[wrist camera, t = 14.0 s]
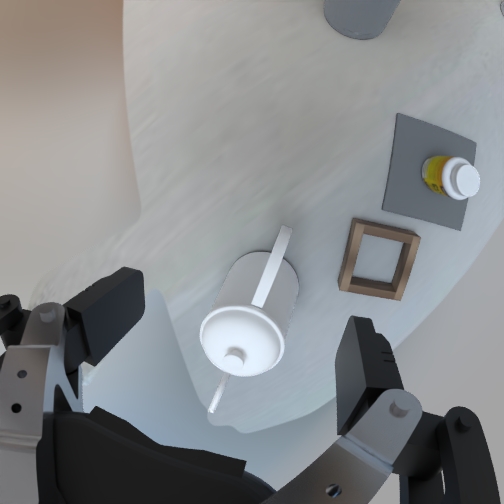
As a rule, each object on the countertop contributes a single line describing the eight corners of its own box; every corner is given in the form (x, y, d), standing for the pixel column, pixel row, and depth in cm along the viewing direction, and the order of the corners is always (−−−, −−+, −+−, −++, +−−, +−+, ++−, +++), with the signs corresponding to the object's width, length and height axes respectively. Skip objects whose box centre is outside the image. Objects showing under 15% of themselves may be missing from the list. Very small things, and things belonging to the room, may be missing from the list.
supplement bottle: (415, 183, 33) (445, 192, 24) (425, 149, 31) (457, 149, 22) (444, 197, 32) (477, 210, 24) (454, 164, 31) (489, 169, 22)
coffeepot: (210, 331, 48) (166, 408, 31) (255, 197, 39) (211, 230, 21) (267, 354, 47) (244, 439, 30) (328, 225, 38) (342, 282, 21)
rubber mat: (396, 113, 31) (397, 113, 30) (474, 142, 29) (476, 142, 28) (381, 209, 36) (382, 210, 35) (458, 229, 34) (460, 230, 33)
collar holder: (352, 218, 37) (356, 222, 34) (413, 231, 36) (420, 237, 33) (337, 281, 40) (339, 290, 38) (395, 291, 39) (400, 300, 36)
